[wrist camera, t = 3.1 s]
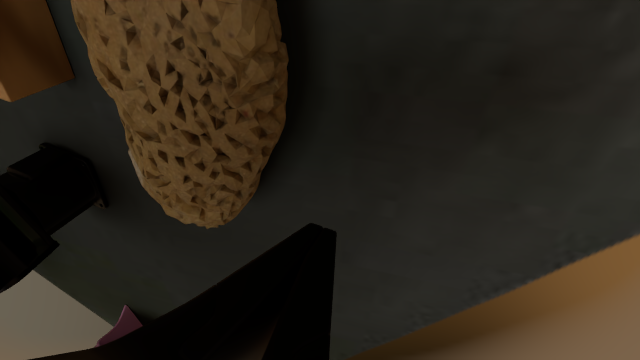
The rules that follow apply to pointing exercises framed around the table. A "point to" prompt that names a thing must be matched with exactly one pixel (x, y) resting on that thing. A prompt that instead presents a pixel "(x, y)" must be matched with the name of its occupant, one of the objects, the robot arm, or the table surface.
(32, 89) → the back rail
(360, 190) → the table surface
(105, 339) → the toy chair
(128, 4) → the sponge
